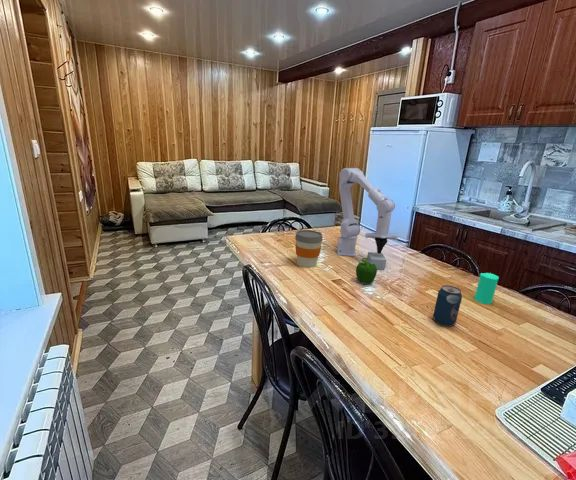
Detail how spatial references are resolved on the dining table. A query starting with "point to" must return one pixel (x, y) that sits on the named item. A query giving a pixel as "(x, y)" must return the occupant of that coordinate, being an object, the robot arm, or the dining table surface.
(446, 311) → the soda can
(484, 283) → the candle
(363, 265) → the bell pepper
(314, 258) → the reusable coffee cup
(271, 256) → the dining table surface
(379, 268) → the flat gray panel
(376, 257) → the slab
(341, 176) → the robot arm
